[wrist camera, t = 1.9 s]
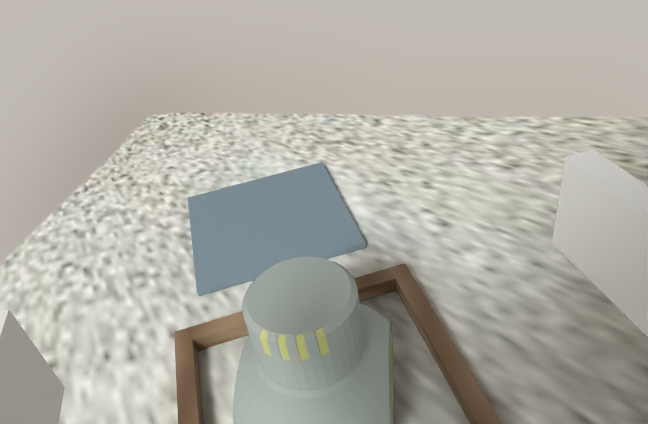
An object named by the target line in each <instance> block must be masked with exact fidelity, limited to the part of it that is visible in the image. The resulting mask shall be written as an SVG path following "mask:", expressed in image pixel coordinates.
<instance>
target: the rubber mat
mask: <svg viewBox="0 0 648 424" xmlns="http://www.w3.org/2000/svg"><path fill="white" fill-rule="evenodd" d="M188 204H189V214H190V225H191V235H192V245H193V255H194V266H195V276H196V286H197V293H198V295H199V296H200V295H204V294H207V293H211V292H214V291H217V290H221V289H224V288H228V287H231V286H235V285H238V284H242V283H245V282H249V281H252V280H255V279H256V278H257V277H258V276H259V275H261V274H262V273H263V272H264V271H265V270H267V269H268V268H270V267H271V266H273V265H275V264H277V263H280V262H282V261H285V260H288V259H292V258H298V257H318V258H323V259H328V258H331V257H335V256H338V255H342V254H345V253H348V252H352V251H355V250H359V249H362V248H366V242H365V240H364V239H363V237H362V235H361V233H360V231H359V229H358V228H357V226H356V224H355V222H354V220H353V218H352V216H351V215H350V213H349V211H348V209H347V207H346V205H345V203H344V202H343V200H342V198H341V196H340V194H339V192H338V191H337V189H336V187H335V185H334V183H333V181H332V179H331V178H330V176H329V174H328V172H327V170H326V168H325V167H324V165H323V163H322V162H321V163H317V164H313V165H309V166H306V167H302V168H298V169H294V170H290V171H287V172H283V173H279V174H275V175H272V176H268V177H264V178H260V179H257V180H253V181H249V182H245V183H241V184H238V185H234V186H230V187H226V188H223V189H219V190H215V191H211V192H208V193H204V194H200V195H196V196H192V197H189V198H188Z"/></svg>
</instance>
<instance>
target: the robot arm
mask: <svg viewBox="0 0 648 424" xmlns="http://www.w3.org/2000/svg"><path fill="white" fill-rule="evenodd" d="M552 243H553V244H554V245H555V246H556V247H557V248H558V249H559V250H560V251H561V252H562V253H563V254H564V255H565V256H566V257H567V258H568V259H569V260H570V261H571V262H572V263H573V264H574V265H575V266H576V267H577V268H578V269H579V270H580V271H581V272H582V273H583V274H584V275H585V276H586V277H587V278H588V279H589V280H590V281H591V282H592V283H593V284H594V285H595V286H596V287H597V288H598V289H599V290H600V291H601V292H602V293H603V294H604V295H605V296H606V297H607V298H609V299H610V300H611V301H612V302H613V303H614V304H615V305H616V306H617V307H618V308H619V309H620V310H621V311H622V312H623V313H624V314H625V315H626V316H627V317H628V318H629V319H630V320H631V321H632V322H633V323H634V324H635V325H636V326H637V327H638V328H639V329H640V330H641V331H642V332H643V333H644V334H645V335H646V336H647V337H648V186H647V185H646V184H644V183H643V182H641V181H640V180H638V179H637V178H635V177H634V176H632V175H631V174H629V173H628V172H626V171H625V170H623V169H622V168H621V167H619V166H618V165H616V164H615V163H613V162H612V161H610V160H609V159H607V158H606V157H604V156H603V155H601V154H600V153H598V152H597V151H595V150H594V149H592V150H588V151H585V152H581V153H577V154H574V155H570V156H566V157H565V163H564V169H563V175H562V182H561V188H560V194H559V201H558V207H557V213H556V220H555V226H554V232H553V239H552ZM63 393H64V386H63V385H62V383H61V382H60V380H59V379H58V378H57V376H56V375H55V373H54V372H53V371H52V369H51V368H50V366H49V365H48V364H47V362H46V361H45V359H44V358H43V356H42V355H41V354H40V352H39V351H38V349H37V348H36V347H35V345H34V344H33V342H32V341H31V340H30V338H29V337H28V335H27V334H26V333H25V331H24V330H23V328H22V327H21V326H20V324H19V323H18V321H17V320H16V319H15V317H14V316H13V314H12V313H11V312H10V310H9V309H8V310H4V311H0V424H58V423H59V417H60V411H61V405H62V399H63Z"/></svg>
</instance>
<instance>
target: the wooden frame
mask: <svg viewBox="0 0 648 424" xmlns="http://www.w3.org/2000/svg"><path fill="white" fill-rule="evenodd" d="M354 280H355V282H356V285H357V290H358V296H359V301H362V300H365V299H369V298H372V297H375V296H378V295H382V294H385V293H388V292H392V291H395V290H397V292H398V294H399V295H400V297H401V299H402V301H403V303H404V304H405V306H406V308H407V310H408V312H409V313H410V315H411V317H412V319H413V321H414V322H415V324H416V326H417V328H418V330H419V332H420V333H421V335H422V337H423V339H424V341H425V342H426V344H427V346H428V348H429V350H430V351H431V353H432V355H433V357H434V359H435V360H436V362H437V364H438V366H439V368H440V369H441V371H442V373H443V375H444V377H445V379H446V380H447V382H448V384H449V386H450V388H451V389H452V391H453V393H454V395H455V397H456V398H457V400H458V402H459V404H460V406H461V407H462V409H463V411H464V413H465V415H466V417H467V418H468V420H469V422H470V424H502V423H501V421H500V419H499V418H498V416H497V414H496V413H495V411H494V409H493V408H492V406H491V405H490V403H489V401H488V400H487V398H486V396H485V395H484V393H483V391H482V390H481V388H480V386H479V385H478V383H477V382H476V380H475V378H474V377H473V375H472V373H471V372H470V370H469V368H468V367H467V365H466V363H465V362H464V360H463V358H462V357H461V355H460V354H459V352H458V350H457V349H456V347H455V345H454V344H453V342H452V340H451V339H450V337H449V335H448V334H447V332H446V331H445V329H444V327H443V326H442V324H441V322H440V321H439V319H438V317H437V316H436V314H435V312H434V311H433V309H432V308H431V306H430V304H429V303H428V301H427V299H426V298H425V296H424V294H423V293H422V291H421V289H420V288H419V286H418V285H417V283H416V281H415V280H414V278H413V276H412V275H411V273H410V271H409V270H408V268H407V266H406V265H405V264H401V265H398V266H395V267H391V268H388V269H385V270H381V271H378V272H374V273H371V274H368V275H364V276H361V277H358V278H354ZM174 333H175V357H176V380H177V404H178V424H203V413H202V401H201V390H200V378H199V366H198V355H197V350H200V349H204V348H207V347H210V346H214V345H217V344H220V343H224V342H227V341H230V340H233V339H237V338H240V337H243V336H247V335H249V332H248V329H247V326H246V323H245V320H244V316H243V312H240V313H236V314H233V315H230V316H226V317H223V318H220V319H216V320H213V321H210V322H206V323H203V324H199V325H196V326H193V327H189V328H186V329H183V330H179V331H176V332H174Z"/></svg>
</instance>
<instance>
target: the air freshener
mask: <svg viewBox="0 0 648 424" xmlns="http://www.w3.org/2000/svg"><path fill="white" fill-rule="evenodd" d="M242 312H243V316H244V320H245V323H246V326H247V329H248V332H249V335H248V337H247V339H246V342H245V345H244V348H243V351H242V354H241V358H240V362H239V367H238V372H237V377H236V384H235V392H234V406H233V421H234V424H394V371H393V343H392V328H391V322H390V321H389V320H387V319H386V318H385V317H384V316H383V315H381V314H380V313H379V312H377V311H375V310H373V309H372V308H370V307H368V306H366V305H364V304H361V303H360V302H359V296H358V290H357V285H356V282H355V280H354V278H353V276H352V275H351V274H350V273H349V271H348V270H347V269H345V268H344V267H343V266H341V265H339V264H338V263H336V262H332V261H329V260H327V259H323V258H318V257H298V258H292V259H288V260H285V261H282V262H280V263H277V264H275V265H273V266H271V267H270V268H268V269H267V270H265V271H264V272H263V273H262V274H261V275H259V276H258V277H257V278H256V279H255V280H254V281H253V283H252V284H251V285H250V286H249V288H248V290H247V291H246V294H245V296H244V299H243V304H242Z"/></svg>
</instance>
